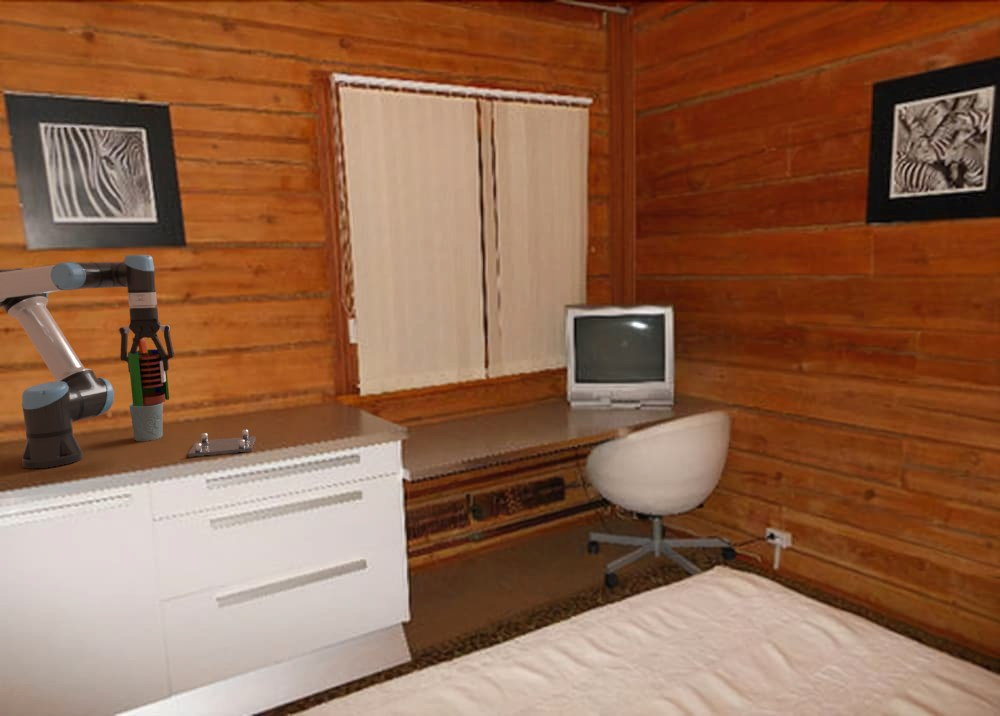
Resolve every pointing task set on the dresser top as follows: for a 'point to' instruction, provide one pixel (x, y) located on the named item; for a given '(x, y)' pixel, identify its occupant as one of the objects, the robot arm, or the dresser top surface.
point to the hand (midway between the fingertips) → (149, 382)
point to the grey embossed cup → (147, 421)
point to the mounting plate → (222, 445)
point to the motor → (147, 376)
